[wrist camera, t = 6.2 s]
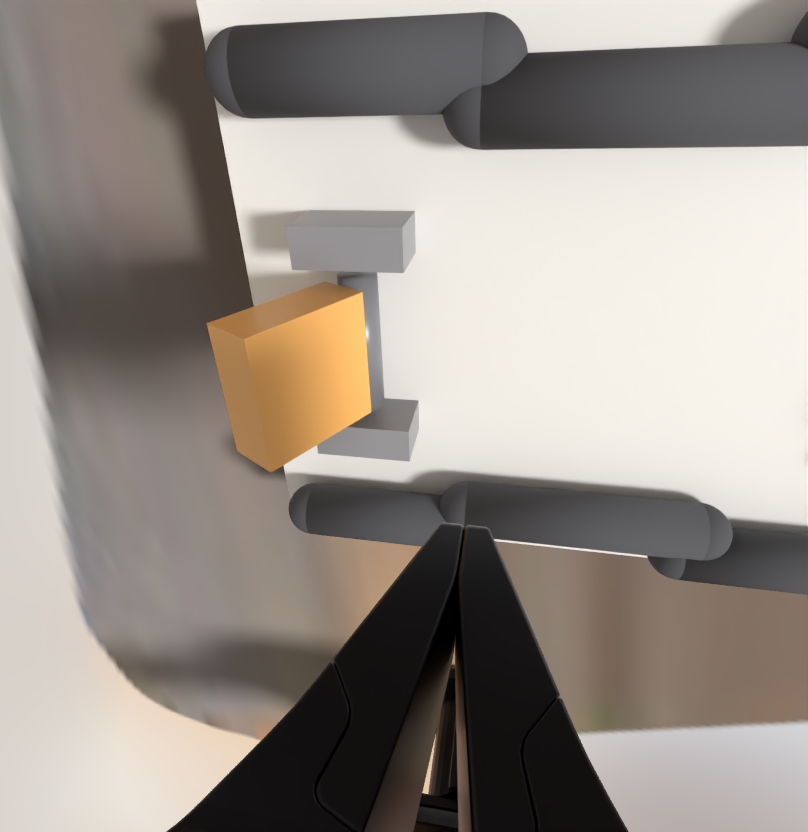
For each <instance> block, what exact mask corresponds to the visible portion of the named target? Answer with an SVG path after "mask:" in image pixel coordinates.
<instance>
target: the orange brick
mask: <svg viewBox="0 0 808 832" xmlns="http://www.w3.org/2000/svg"><path fill="white" fill-rule="evenodd" d="M337 283H338V285H336V284H332V283H329V282H325V281H324V282H321V283H318V284H316V285H313V286H310V287H307V288H304V289H301V290H299V291H296V292H293V293H290V294H287V295H285V296H282V297H279V298H276V299H273V300H271V301H268V302H265V303H262V304H259V305H257V306H254V307H251V308H248V309H245V310H243V311H240V312H237V313H234V314H231V315H229V316H226V317H223V318H220V319H217V320H215V321H212V322H209V323H207V327H208V331H209V335H210V340H211V344H212V348H213V352H214V356H215V360H216V365H217V369H218V373H219V377H220V381H221V385H222V390H223V394H224V398H225V402H226V406H227V410H228V415H229V419H230V423H231V427H232V431H233V435H234V440H235V444H236V448H237V452H239V453H241V454H242V455H244V456H245V457H247V458H249V459H250V460H252V461H253V462H255V463H257V464H258V465H260V466H261V467H263V468H265V469H266V470H268V471H269V472H271V473H272V472H273V471H275V470H277V469H278V468H280V467H282V466H283V465H285V464H287V463H288V462H290V461H291V460H293V459H295V458H296V457H298V456H300V455H301V454H303V453H305V452H306V451H308V450H310V449H311V448H313V447H315V446H316V445H318V444H320V443H321V442H323V441H325V440H326V439H328V438H330V437H331V436H333V435H335V434H336V433H338V432H340V431H341V430H343V429H344V428H346V427H348V426H349V425H351V424H353V423H354V422H356V421H358V420H359V419H361V418H363V417H364V416H366V415H368V414H369V413H371V411H373V410H376V409H379V408H380V407H382V406H383V405H384V403H385V397H384V380H383V363H382V345H381V328H380V311H379V293H378V276H377V272H344V271H341V272H339V273H338V274H337Z"/></svg>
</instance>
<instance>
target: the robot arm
mask: <svg viewBox="0 0 808 832" xmlns="http://www.w3.org/2000/svg"><path fill="white" fill-rule="evenodd" d="M455 640H456V641H455ZM454 647H455V672H452V671H450V668H451V664H452V659H453V654H454ZM559 696H560V694H559V691H558V689H557V687H556V684H555V682H554V680H553V677H552V675H551V672H550V670H549V668H548V665H547V663H546V661H545V658H544V656H543V654H542V651H541V649H540V647H539V644H538V642H537V640H536V637H535V635H534V632H533V630H532V628H531V625H530V623H529V621H528V618H527V616H526V614H525V611H524V609H523V607H522V604H521V602H520V600H519V597H518V595H517V592H516V590H515V588H514V585H513V583H512V581H511V578H510V576H509V574H508V571H507V569H506V567H505V564H504V562H503V560H502V557H501V555H500V552H499V550H498V548H497V545H496V543H495V541H494V538H493V536H492V534H491V531H490V530H489V528H487V527H482V526H473V525H468V526H466V527H465V529H464V526H463V525H461V524H454V523H441V524H440V525H439V526H438V527H437V528H436V530H435V531H434V532H433V533H432V535H431V536H430V537H429V538H428V540H427V541H426V542H425V544H424V545H423V546H422V547H421V549H420V550H419V551H418V552H417V554H416V555H415V556H414V557H413V559H412V560H411V561H410V562H409V564H408V565H407V566H406V568H405V569H404V570H403V571H402V573H401V574H400V575H399V576H398V578H397V579H396V580H395V581H394V583H393V584H392V585H391V586H390V588H389V589H388V590H387V591H386V593H385V594H384V595H383V597H382V598H381V599H380V600H379V602H378V603H377V604H376V605H375V607H374V608H373V609H372V610H371V612H370V613H369V614H368V615H367V617H366V618H365V619H364V620H363V622H362V623H361V624H360V626H359V627H358V628H357V629H356V631H355V632H354V633H353V634H352V636H351V637H350V638H349V639H348V641H347V642H346V643H345V644H344V646H343V647H342V648H341V650H340V651H339V652H338V653H337V655H336V656H335V657H334V658H333V663H332V662H331V663H329V664H328V666H327V667H326V668H325V669H324V671H323V672H322V673H321V674H320V676H319V677H318V678H317V679H316V681H315V682H314V683H313V684H312V686H311V687H310V688H309V689H308V690H307V691H306V693H305V694H304V695H303V696H302V697H301V699H300V700H299V701H298V702H297V703H296V704H295V706H294V707H293V708H292V709H291V710H290V711H289V712H288V713H287V714H286V715H285V716H284V717H283V718H282V720H281V721H280V722H279V723H278V724H277V725H276V726H275V727H274V728H273V729H272V730H271V731H270V732H269V733H268V734H267V735H266V736H265V737H264V738H263V739H262V740H261V741H260V742H259V744H257V745H256V746H255V747H254V749H253V750H252V751H251V752H250V753H249V754H248V755H247V756H246V757H245V758H244V759H243V760H242V761H241V762H240V763H239V764H238V765H237V766H236V767H235V768H234V769H233V770H232V771H231V772H230V773H229V774H228V775H227V776H226V777H225V778H224V779H223V780H222V781H221V782H220V783H219V784H218V785H217V786H216V787H215V788H214V789H213V790H212V791H211V792H210V793H209V794H208V795H207V796H206V797H205V798H204V799H203V800H202V801H201V802H200V803H199V804H198V805H197V806H196V807H195V808H194V809H193V810H192V811H191V812H190V813H188V814H187V815H186V816H185V817H184V818H183V819H182V820H181V821H179V822H178V823H177V824H176V825H175V826H173V827H172V828H171V829H169V830H168V831H167V832H628V830H627V828H626V827H625V825H624V823H623V821H622V819H621V818H620V816H619V814H618V812H617V810H616V809H615V807H614V805H613V803H612V801H611V800H610V798H609V796H608V794H607V792H606V790H605V789H604V787H603V785H602V783H601V781H600V779H599V777H598V775H597V773H596V771H595V770H594V768H593V766H592V764H591V762H590V760H589V758H588V756H587V754H586V752H585V750H584V747H583V745H582V743H581V741H580V739H579V737H578V734H577V732H576V730H575V728H574V726H573V724H572V721H571V719H570V717H569V714H568V712H567V710H566V707H565V705H564V702H563V700H562V699H561V698H559ZM435 734H436V740H435V748H434V756H433V763H432V771H431V778H430V785H429V794H424V793H422V791H423V787H424V782H425V777H426V774H427V769H428V765H429V761H430V756H431V752H432V747H433V743H434V739H435Z"/></svg>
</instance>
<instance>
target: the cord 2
mask: <svg viewBox="0 0 808 832" xmlns="http://www.w3.org/2000/svg"><path fill="white" fill-rule="evenodd" d="M289 515H290V518H291V520H292V522H293V524H294V525H295V526H296V527H297V528H298V529H300V530H301V531H303V532H306V533H310V534H318V535H326V536H335V537H344V538H353V539H361V540H370V541H379V542H388V543H396V544H405V545H414V546H423V545H424V544H425V542H426V541H427V540H428V538H429V537H430V536H431V535H432V533H433V532H434V531H435V530H436V528H437V527H438V526H439V525H440V524H441V523H454V524H461V525H463V526H464V529H465V527H466V526H468V525H473V526H482V527H487V528H489V530H490V531H491V534H492V536H493V538H494V539H499V540H508V541H518V542H527V543H536V544H545V545H554V546H563V547H572V548H581V549H591V550H600V551H609V552H618V553H627V554H636V555H645V556H647V557H648V559H649V562H650V563H651V565H652V566H653V567H654V568H655V569H656V570H657V571H658V572H659V573H661V574H662V575H664V576H666V577H668V578H671V579H676V580H684V581H693V582H702V583H710V584H719V585H728V586H736V587H745V588H754V589H762V590H771V591H779V592H788V593H797V594H805V595H808V535H801V534H791V533H781V532H771V531H761V530H751V529H741V528H732V527H731V525H730V522H729V520H728V519H727V517H726V516H725V515H724V514H723V513H722V512H721V511H720V510H718V509H717V508H715V507H714V506H711V505H709V504H705V503H700V502H690V501H679V500H668V499H657V498H646V497H635V496H625V495H614V494H603V493H592V492H581V491H570V490H560V489H549V488H538V487H527V486H516V485H505V484H495V483H484V482H473V481H462V482H458V483H455V484H453V485H452V486H450V487H449V488H448V489H447V490H446V491H445V492H444V494H443V495H437V494H426V493H416V492H406V491H395V490H385V489H375V488H365V487H354V486H344V485H334V484H324V483H309V484H306V485H304V486H302V487H300V488H299V489H298V490H297V491H296V492H295V493H294V494H293V496H292V498H291V500H290V503H289Z"/></svg>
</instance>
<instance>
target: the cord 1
mask: <svg viewBox="0 0 808 832" xmlns="http://www.w3.org/2000/svg"><path fill="white" fill-rule="evenodd" d="M204 69H205V76H206V80H207V83H208V86H209V89H210V91H211V92H212V94H213V96H214V97H215V98H216V100H217V101H218V102H219V103H220V104H221V105H222V106H223V107H224V108H225V109H226V110H228V111H229V112H231V113H233V114H234V115H236V116H239V117H242V118H251V119H259V118H303V117H348V116H392V115H436V114H443V118H444V122H445V124H446V127H447V129H448V131H449V132H450V134H451V135H452V136H453V138H454V139H456V140H457V141H458V142H459V143H460V144H462V145H464V146H465V147H468V148H471V149H478V150H517V149H606V148H694V147H783V146H808V12H807V13H806V14H805V15H804V17H803V18H802V20H801V21H800V23H799V24H798V26H797V28H796V30H795V32H794V34H793V36H792V39H791V42H779V43H755V44H730V45H706V46H682V47H657V48H633V49H608V50H584V51H560V52H535V53H528V49H527V44H526V41H525V38H524V36H523V34H522V32H521V30H520V29H519V27H518V26H517V25H516V24H515V23H514V22H513V21H512V20H511V19H509V18H508V17H506V16H504V15H502V14H499V13H496V12H474V13H456V14H437V15H419V16H401V17H382V18H364V19H345V20H327V21H308V22H290V23H272V24H253V25H236V26H231V27H227V28H225V29H223V30H221V31H220V32H219V33H218V34H217V35H215V36H214V37H213V39H212V40H211V42H210V44H209V45H208V48H207V51H206V54H205V60H204Z"/></svg>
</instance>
